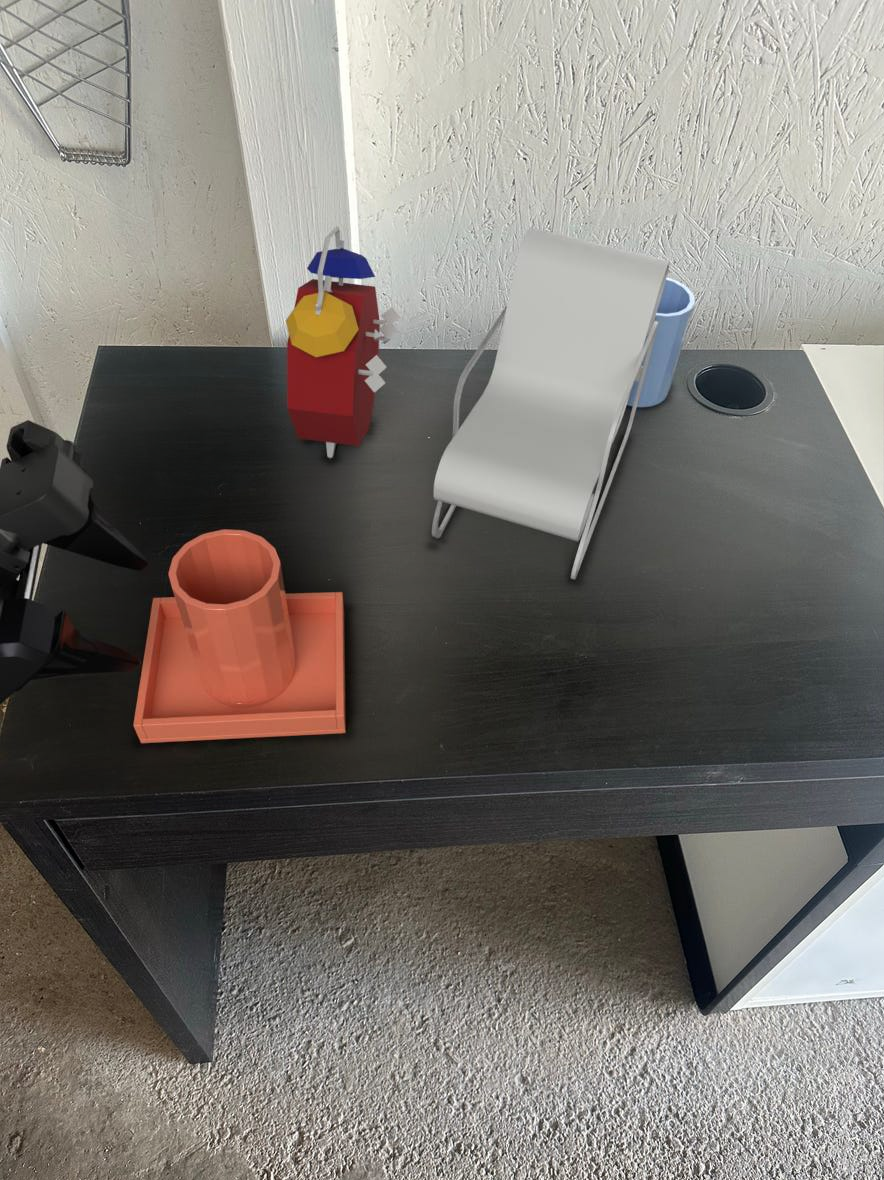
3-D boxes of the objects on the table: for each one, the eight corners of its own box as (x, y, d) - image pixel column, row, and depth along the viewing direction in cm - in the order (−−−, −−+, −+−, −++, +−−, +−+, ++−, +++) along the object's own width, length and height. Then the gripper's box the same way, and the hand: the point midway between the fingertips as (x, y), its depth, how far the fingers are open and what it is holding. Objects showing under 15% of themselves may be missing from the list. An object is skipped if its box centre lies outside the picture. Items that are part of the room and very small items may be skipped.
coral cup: (192, 706, 68) (158, 606, 59) (209, 630, 73) (181, 526, 63) (289, 709, 68) (271, 611, 59) (300, 634, 73) (286, 532, 63)
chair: (631, 429, 93) (678, 250, 77) (568, 597, 78) (611, 417, 63) (510, 396, 95) (532, 215, 79) (427, 553, 80) (434, 369, 65)
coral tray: (140, 743, 66) (132, 725, 64) (159, 616, 74) (153, 597, 72) (345, 733, 68) (343, 715, 66) (344, 610, 75) (342, 591, 73)
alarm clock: (324, 377, 94) (309, 188, 79) (404, 387, 94) (405, 200, 79) (292, 470, 85) (268, 278, 70) (381, 481, 85) (377, 291, 70)
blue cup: (637, 416, 94) (661, 324, 86) (587, 381, 97) (606, 289, 89) (681, 390, 98) (709, 299, 89) (632, 357, 101) (654, 267, 92)
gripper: (-60, 554, 44) (208, 665, 54) (0, 332, 55) (213, 461, 65) (-157, 661, 49) (105, 744, 59) (-84, 438, 60) (126, 542, 70)
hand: (141, 613), depth 63 cm, fingers open, 9 cm apart
